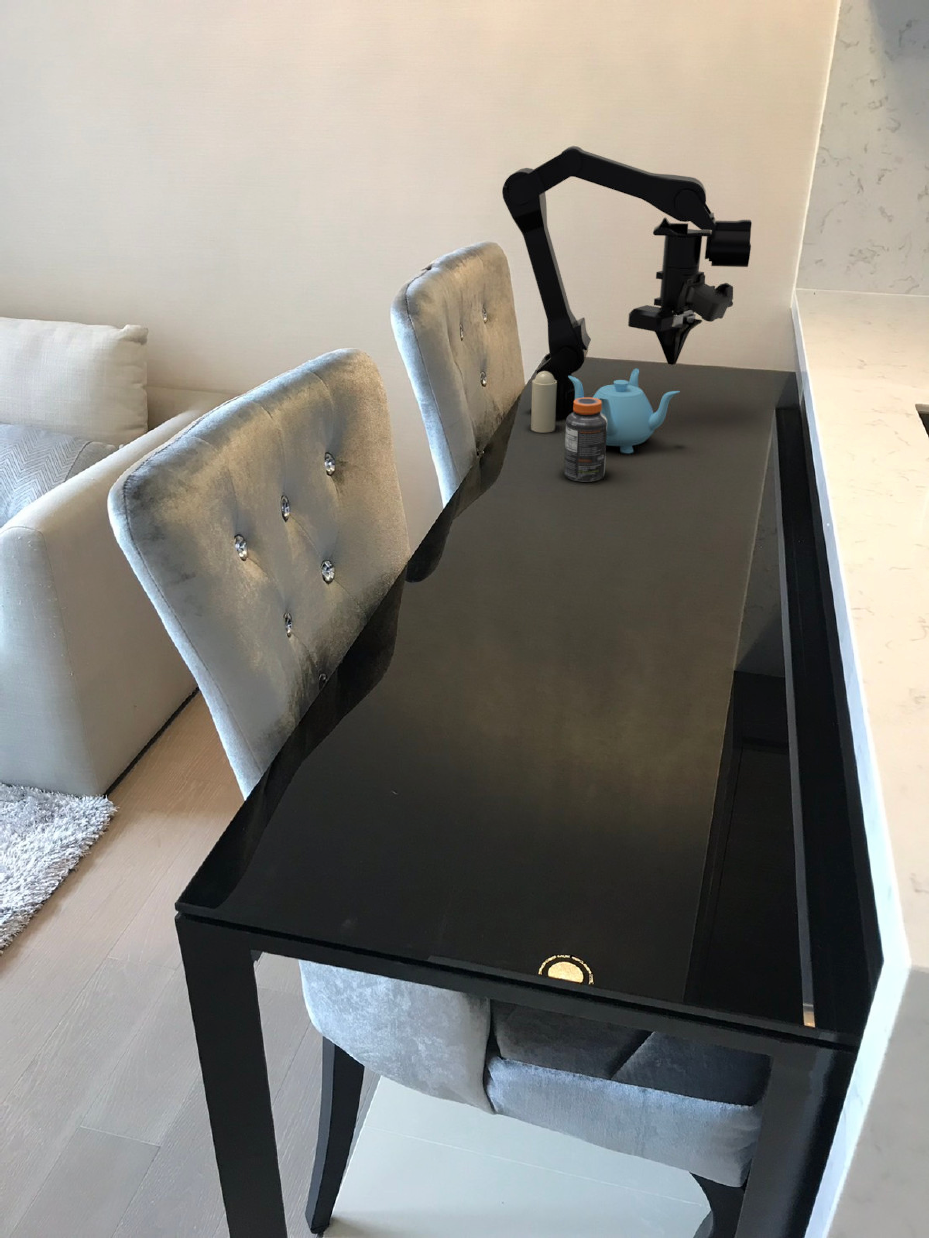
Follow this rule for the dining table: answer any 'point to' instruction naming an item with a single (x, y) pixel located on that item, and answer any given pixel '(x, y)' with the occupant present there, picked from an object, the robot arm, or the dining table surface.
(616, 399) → the teapot
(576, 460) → the pill bottle
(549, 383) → the salt shaker
